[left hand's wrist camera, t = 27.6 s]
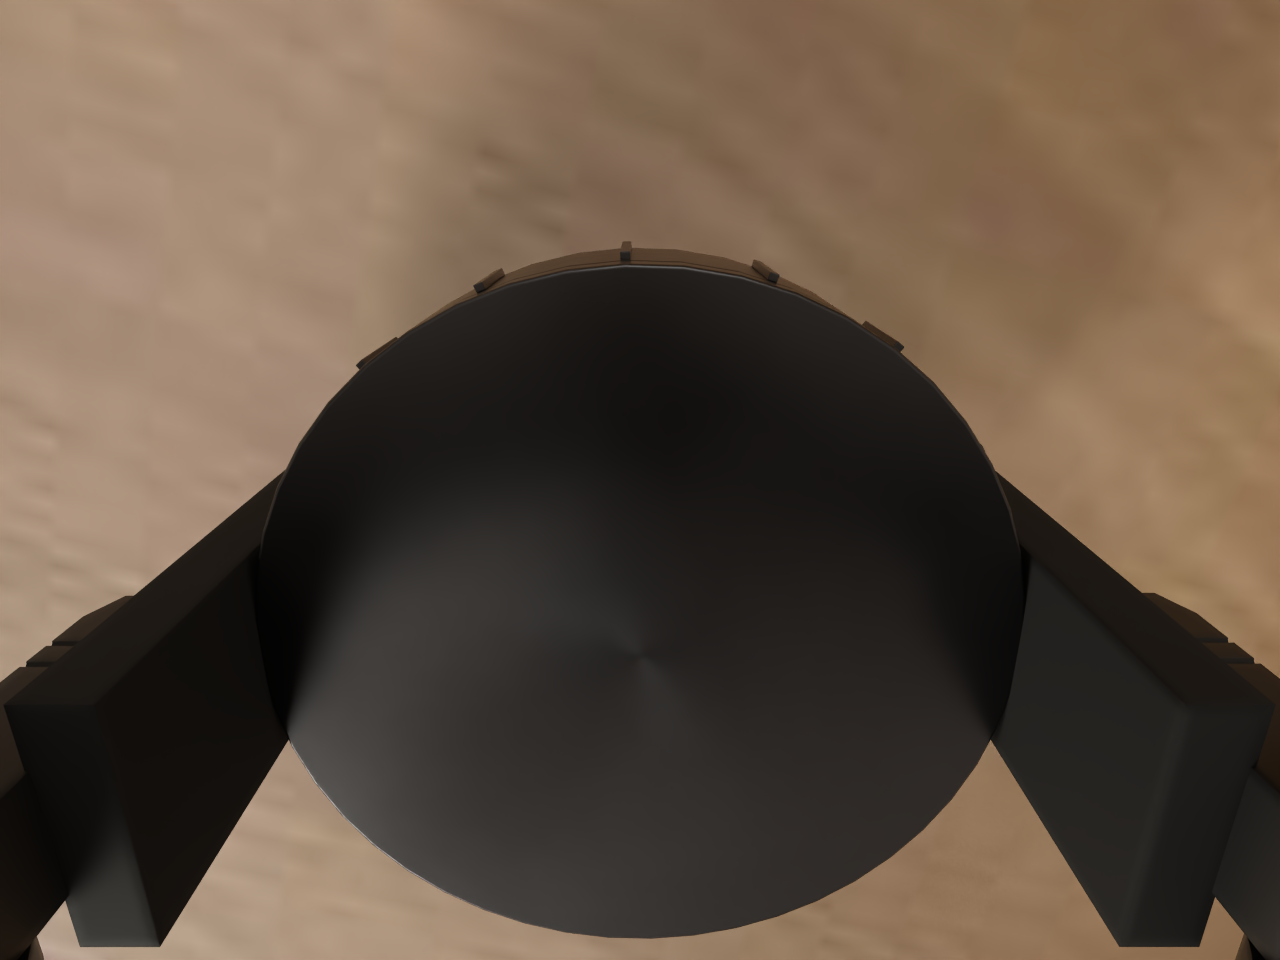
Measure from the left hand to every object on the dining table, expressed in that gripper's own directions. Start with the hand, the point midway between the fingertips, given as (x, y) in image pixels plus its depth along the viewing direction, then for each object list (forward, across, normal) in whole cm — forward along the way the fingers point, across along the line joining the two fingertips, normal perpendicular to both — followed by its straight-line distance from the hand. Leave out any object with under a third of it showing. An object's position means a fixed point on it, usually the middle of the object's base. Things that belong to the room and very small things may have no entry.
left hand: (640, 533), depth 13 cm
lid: (-3, 0, 0) cm, 3 cm away
